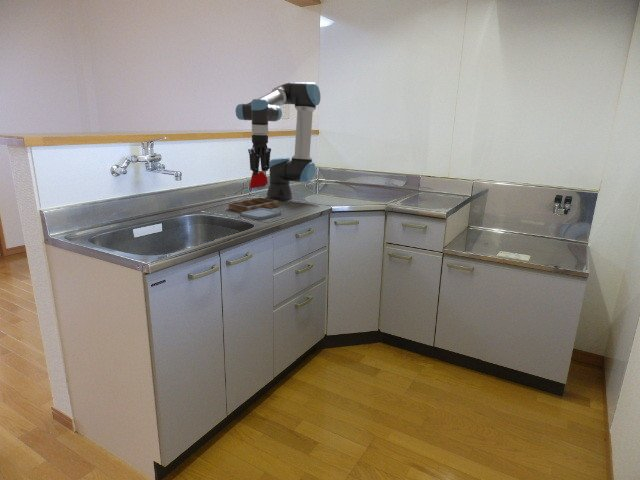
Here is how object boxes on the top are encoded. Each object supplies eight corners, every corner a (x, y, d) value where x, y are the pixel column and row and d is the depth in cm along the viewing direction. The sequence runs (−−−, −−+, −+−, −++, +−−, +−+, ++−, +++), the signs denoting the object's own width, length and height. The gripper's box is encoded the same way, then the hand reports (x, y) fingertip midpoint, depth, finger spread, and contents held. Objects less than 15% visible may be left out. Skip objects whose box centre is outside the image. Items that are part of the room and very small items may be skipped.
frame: (259, 202, 233) (259, 197, 232) (278, 206, 225) (278, 200, 224) (228, 209, 215) (228, 203, 214) (248, 213, 207) (248, 207, 206)
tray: (261, 210, 214) (261, 207, 213) (281, 214, 207) (281, 211, 206) (240, 215, 202) (240, 212, 202) (260, 220, 195) (260, 217, 195)
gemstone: (259, 186, 190) (270, 175, 197) (243, 176, 191) (255, 165, 197) (255, 199, 197) (266, 188, 203) (240, 190, 197) (251, 179, 204)
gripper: (265, 133, 202) (265, 182, 209) (241, 134, 189) (242, 185, 196) (277, 134, 198) (277, 184, 205) (253, 135, 185) (253, 187, 192)
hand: (260, 184), depth 200 cm, fingers closed on gemstone, 3 cm apart
